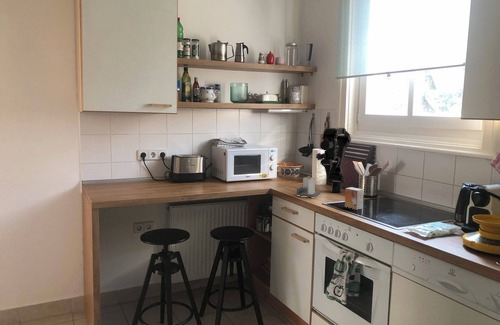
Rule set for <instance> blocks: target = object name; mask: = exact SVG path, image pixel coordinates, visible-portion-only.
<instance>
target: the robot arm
mask: <svg viewBox="0 0 500 325" xmlns="http://www.w3.org/2000/svg"><path fill="white" fill-rule="evenodd" d="M321 140H322V141H321V142H320V149H321V150H322V151H324V152H323V153H321V152H317V153H316V157H315V159H317V161H320V165H321V166H322V167H324V171H325V175H326V176H328V183H331V190H330V191H329V192H330V193H333V192H334V193H335V194H336V193H337V194H341V193H342V192H344V191H343V190H342V184H344V183H345V177H344V172H343V170H342V167H343V162H344V158H345V153H346V149H347V148H348V147H349V146H350V144H351V142H352V137H351V134H350V132H348V131H347V129H346V128H345V127H337V128H335V127H326V128H325V130H323V135H322V138H321ZM336 143H337V145H338V146H337V145H336ZM336 147H338V148H337V149H336Z"/></svg>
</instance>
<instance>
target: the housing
mask: <svg viewBox="0 0 500 325" xmlns="http://www.w3.org/2000/svg"><path fill="white" fill-rule="evenodd" d="M302 179H303V180H302V183H303V184H302V186H303V193H307V194H311V193H315V192H316V178H314V177H311V175H308V176H306V177H302Z"/></svg>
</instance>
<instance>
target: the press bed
mask: <svg viewBox="0 0 500 325" xmlns="http://www.w3.org/2000/svg"><path fill="white" fill-rule="evenodd" d="M320 193H321V192H320V191H319V192H318V191H315V193H311V194H307V193H303V185H302V186H299V187H297V188H296V195H300V196H307V197H316V196H318V195H320ZM296 195H295V196H296ZM318 197H319V196H318ZM316 198H317V197H316Z"/></svg>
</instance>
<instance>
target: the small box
mask: <svg viewBox="0 0 500 325" xmlns="http://www.w3.org/2000/svg"><path fill="white" fill-rule="evenodd" d="M344 191H345V193H344V207H345V208H347V207H348V209H351V208H352V209H351V210H355V211H359V210H362V209H363V208H364V189H363V188H356V187H353V186H351V187H346V188H345V190H344ZM358 209H359V210H358Z"/></svg>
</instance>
